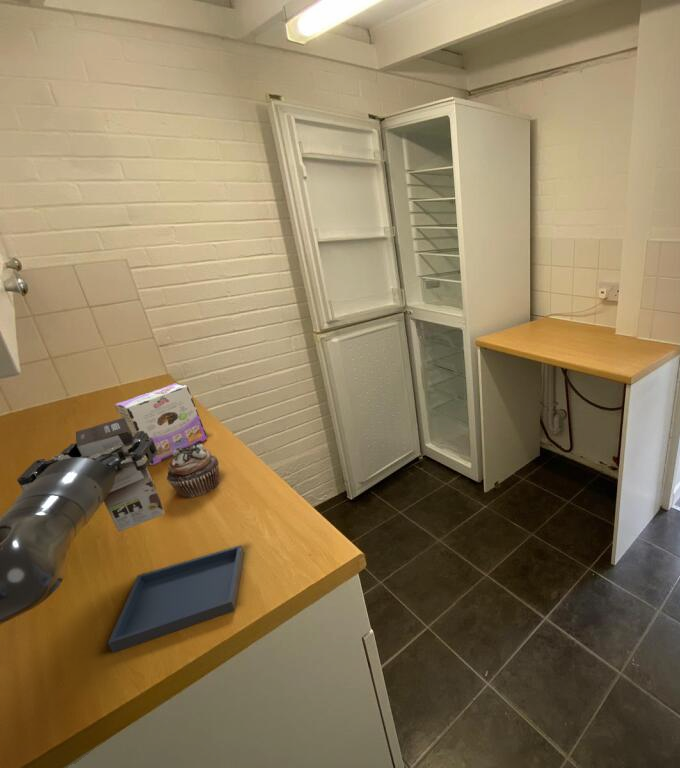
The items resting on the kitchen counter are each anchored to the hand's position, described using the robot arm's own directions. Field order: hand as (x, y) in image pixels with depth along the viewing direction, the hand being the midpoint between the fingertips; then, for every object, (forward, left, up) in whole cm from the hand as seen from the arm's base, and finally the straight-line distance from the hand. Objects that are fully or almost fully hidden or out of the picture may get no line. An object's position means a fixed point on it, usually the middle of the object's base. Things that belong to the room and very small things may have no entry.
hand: (111, 441), depth 69 cm
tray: (+7, -14, -24) cm, 28 cm away
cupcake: (+3, +20, -24) cm, 31 cm away
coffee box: (0, -1, -14) cm, 14 cm away
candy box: (-7, +43, -24) cm, 49 cm away
